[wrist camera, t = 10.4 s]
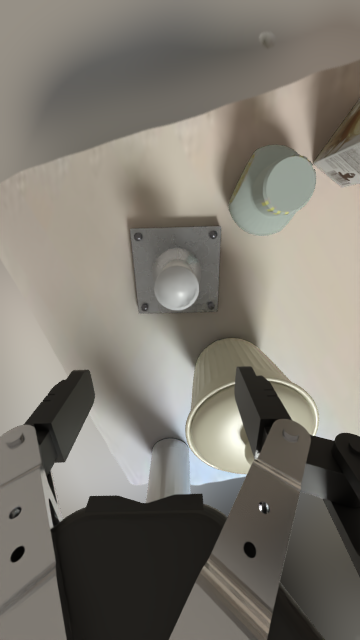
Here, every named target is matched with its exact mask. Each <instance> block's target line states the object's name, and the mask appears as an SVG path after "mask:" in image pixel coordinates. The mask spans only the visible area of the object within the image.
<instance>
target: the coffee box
mask: <svg viewBox="0 0 360 640" xmlns="http://www.w3.org/2000/svg"><path fill="white" fill-rule="evenodd" d="M314 165H315V166H316V167H318V168H319V169H320V170H321V171H322V172H324V173H325V174H326V175H327V176H328V177H330V178H331V179H332V180H333V181H334V182H336V183H337V184H338V185H339V186H341V187H347V186H351V185H356V184H360V99H359V100H358V102H357V103H356V104H355V106H354V107H353V109H352V110H351V111H350V113H349V114H348V115H347V117H346V118H345V120H344V121H343V122H342V124H341V125H340V126H339V128H338V129H337V131H336V132H335V133H334V135H333V136H332V138H331V139H330V140H329V142H328V143H327V144H326V146H325V147H324V148H323V150H322V151H321V153H320V154H319V155H318V157H317V158H316V159H315V161H314Z"/></svg>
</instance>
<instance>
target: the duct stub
mask: <svg viewBox="0 0 360 640" xmlns="http://www.w3.org/2000/svg"><path fill="white" fill-rule="evenodd" d="M154 291H155V296H156V298H157V300H158V301H159V302H160V304H161V305H163V306H164V307H166V308H168V309H171V310H183V309H186V308H188V307H189V306H191V305H192V304H193V303H194V302H195V300H196V299H197V297H198V293H199V284H198V281H197V278H196V276H195V275H194V273H193V271H192V268H191V266H190V265H189V264H188V263H187V262H186V261H184V260H182V259H173V260H170V261H169V262H167V263H166V265H165V266H164V268H163V270H162V271H161V272H160V274H159V275H158V277H157V279H156V281H155V285H154Z"/></svg>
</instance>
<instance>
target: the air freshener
mask: <svg viewBox="0 0 360 640" xmlns="http://www.w3.org/2000/svg"><path fill="white" fill-rule="evenodd" d="M312 165H313V164H312V163H311V161H309V160H308V159H307V158H306V157H305V156H301V155H299V154H298V153H297V152H296V151H294V150H293V149H291V148H289V147H286V146H283V145H268V146H264V147H261V148H259V149H257V150H256V151H255V152H254V153H253V155H252V156H251V158H250V160H249V162H248V163H247V165H246V167H245V169H244V171H243V173H242V175H241V177H240V179H239V181H238V183H237V185H236V187H235V190H234V192H233V194H232V197H231V199H230V202H229V205H228V206H229V211H230V213H231V216H232V218H233V220H234V221H235V223H236V224H237V225H238V226H239V227H240V228H241V229H242V230H244V231H246V232H247V233H249V234H253V235H259V236H265V235H271V234H275V233H277V232H279V231H281V230H282V229H283V228H284V227H285V226H286V225H287V224H288V222H289V221H290V220H291V218H292V217H293V216H294V214H295V213H296V212H297V211H298V210H300V209H301V208H302V207H304V206H305V205H306V203H307V202H308V201H309V199H310V198H311V196H312V194H313V192H314V189H315V185H316V172H315V169H313V167H312Z"/></svg>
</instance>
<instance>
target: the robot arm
mask: <svg viewBox="0 0 360 640" xmlns="http://www.w3.org/2000/svg"><path fill="white" fill-rule="evenodd" d="M234 395H235V401H236V404H237V407H238V410H239V413H240V416H241V419H242V422H243V425H244V429H245V432H246V435H247V438H248V441H249V444H250V447H251V450H252V453H253V456H254V459H255V460H254V461H253V463H252V465H251V467H250V469H249V471H248V473H247V476H246V478H245V480H244V482H243V485H242V487H241V489H240V491H239V493H238V496H237V498H236V500H235V502H234V504H233V507H232V509H231V511H230V513H229V515H228V517H226V516H225V515H224V514H223V513H222V512H220V511H218V510H217V509H215V508H213V507H211V506H209V505H205V504H203V496H202V494H191V493H190V466H189V449H188V446H187V445H186V444H185V443H184V442H182V441H180V440H178V439H163V440H161V441H159V442H157V443H156V444H155V445H154V447H153V450H152V458H151V466H150V474H149V482H148V490H147V498H146V503H140V502H137V501H134V500H130V499H127V498H123V497H120V496H90V497H89V501H88V503H87V506H86V507H85V508H82V509H80V510H78V511H76V512H74V513H72V514H71V515H69V516H67V517H66V518H65V519H63V517H62V515H61V510H60V507H59V502H58V497H57V493H56V488H55V484H54V479H53V475H52V471H51V468H52V466H53V465H54V463H56V462H65V461H66V459H67V457H68V455H69V453H70V451H71V449H72V446H73V444H74V442H75V440H76V438H77V436H78V434H79V432H80V430H81V428H82V426H83V424H84V422H85V420H86V418H87V416H88V414H89V412H90V410H91V407H92V405H93V403H94V398H95V393H94V388H93V383H92V379H91V375H90V371H89V370H73V371H72V372H71V374H70V375H69V376H68V378H67V379H66V380H62V381H61V382H59V383H58V384H57V385H55V386H54V387H53V388H52V389H51V391H50V392H49V393H48V396H46V397H45V398H44V400H43V402H41V403H40V405H39V406H38V407H37V409H36V410H35V411H34V412H33V414H32V415H31V416H30V417H29V419H28V420H27V421H26V422H25V424H24V425H21V426H17V427H15V428H13V429H11V430H9V431H7V432H6V433H4V434H3V435H2V436H1V437H0V640H325V639H324V638H323V636H322V635H321V634H320V633H319V632H318V630H317V629H316V627H315V626H314V625H313V624H312V622H311V621H310V620H309V618H308V617H307V616H306V615H305V613H304V612H303V611H302V609H301V608H300V607H299V606H298V605H297V603H296V602H295V601H294V599H293V598H292V597H291V595H290V594H289V593H288V592H287V590H286V589H285V588H284V586H283V585H282V584H281V583H280V578H281V574H282V569H283V565H284V560H285V556H286V552H287V547H288V542H289V538H290V534H291V530H292V525H293V521H294V517H295V512H296V507H297V503H298V499H299V495H300V491H301V492H304V493H307V494H310V495H313V496H316V497H319V498H322V499H323V501H324V503H325V505H326V507H327V509H328V511H329V513H330V515H331V517H332V520H333V522H334V524H335V526H336V528H337V530H338V532H339V534H340V537H341V538H342V541H343V543H344V545H345V547H346V549H347V551H348V553H349V555H350V557H351V560H352V562H353V564H354V566H355V568H356V570H357V572H358V574H359V576H360V437H359V436H357V435H354V434H350V433H341V434H339V435H337V436H336V438H335V441H332V440H328V439H324V438H320V437H316V436H313V435H310V434H309V433H308V431H307V430H306V429H305V428H304V427H303V426H302V425H301V424H299V423H297V422H295V421H293V420H292V419H291V417H290V415H289V414H288V412H287V410H286V409H285V407H284V405H283V403H282V402H281V400H280V398H279V397H278V395H277V393H276V391H274V388H273V386H272V385H271V383H270V382H269V381H268V380H267V379H266V378H265V377H263V376H262V375H261V376H256V374H255V372H254V370H253V368H252V367H251V366H240V367H237V368H236V376H235V387H234ZM256 459H257V460H256Z"/></svg>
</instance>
